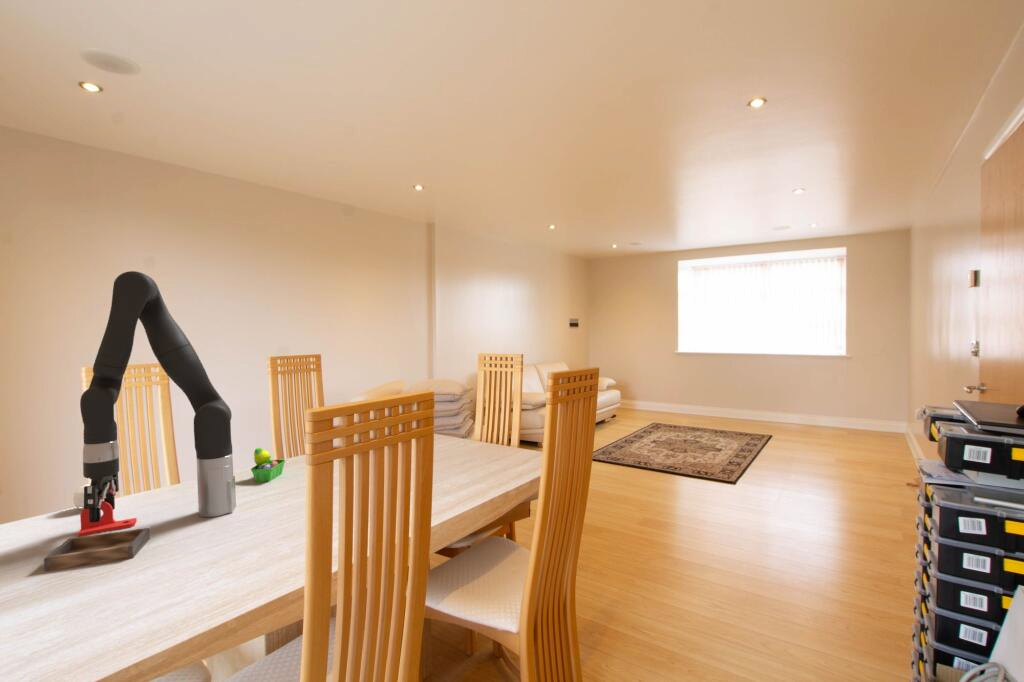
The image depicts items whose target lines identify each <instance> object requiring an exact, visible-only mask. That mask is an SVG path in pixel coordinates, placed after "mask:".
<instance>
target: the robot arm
mask: <svg viewBox="0 0 1024 682" xmlns="http://www.w3.org/2000/svg"><path fill="white" fill-rule="evenodd" d="M107 320H108V321H107V324H106V328H105V331H104V333H103V336H102V339H101V342H100V344H99V348H98V351H97V354H96V357H95V360H94V363H93V366H92V373H93V375H92V378H91V380H90V384H89V387H88V389H86V390H85V391H84V392H82V395H81V397H80V403H79V404H80V405H79V406H80V407H79V408H80V414H81V419H82V420H81V421H82V424H83V448H82V449H83V450H82V472H83V473H82V475H83V477H84V478H85V479H89V480H91V481H90V483H89V484H90V486H85V487H84V509H89V521H90V523H94V522H99V521H100V520H101V516H102V512H101V511H102V510H101V507H100V506H101V502H102V500H104V501H106V502H108V503H110V504H111V506H112V507H113V511H114V510H115V509H116V504H115V503H116V501H115V498H116V497H117V493H118V492H119V491H120V488H119V487H120V486H119V472H120V447H119V441H118V425H117V421H116V420H115V404H116V403H117V401H118V399H119V396H120V393H121V389H122V384H123V378H124V376H125V373H126V370H127V367H128V365H129V361H130V359H131V355H132V352H133V347H134V339H135V334H136V333H135V332H136V328H137V324H138V320H139V321H140V323H141V324H142V327H143V329H144V332H145V334H146V337H147V340H148V343H149V345H150V348H151V350H152V352H153V353H152V354H154V356H155V358H156V360H157V361H158V363H159V365H160V366H161V369H163V371H164V373H165V374H166V375H167V376H168V377H169V379H171V381H172V382H174V384H176V386H177V387H178V388H179V389H180V390H181V392H183V394H185V396H186V398H187V399H188V402H189V403H190V405H191V407H192V410H193V412H194V417H193V436H194V449H195V455H196V479H197V480H196V481H197V500H198V501H197V503H198V516H199V517H202V518H213V517H214V518H215V517H220V516H223V515H227V514H231V513H233V512H234V510H235V508H236V506H237V497H236V476H235V475H234V464H233V463H234V461H233V459H234V458H233V443H232V430H231V427H232V424H231V420H232V411H231V408H230V406H229V405H228V404H227V403H226V402H225V400H224V399H223V398H222V396H221V395H220V393H219V392H218V391H217V390H216V389H215V387H214V385H213V383H212V382H211V380H210V378H209V375H208V374H207V371H206V368H205V367H204V365H203V363H202V361H201V359H200V357H199V355H198V353H197V352H196V350H195V348H194V346H193V345H192V343H191V342H190V340H189V339H188V337H187V335H186V334H185V333H184V331H183V330H182V328H181V327H180V325H179V324H178V323H177V321H176V320H175V318H174V317H173V316H172V315H171V313H170V311H169V309H168V307H167V306H166V303H165V301H164V299H163V297H162V294H161V291H160V289H159V286H158V285H157V283H156V281H155V280H154V279H153V278H152V277H151V276H149V275H147V274H146V273H143V272H139V271H135V270H134V271H133V270H131V271H125V272H122V273H121V274H119V275H118V276H117V277H116V278H115V279H114V281H113V287H112V297H111V306H110V311H109V316H108V319H107ZM105 497H106V498H105ZM88 500H89V503H88ZM97 500H98V502H97ZM92 503H93V504H92Z"/></svg>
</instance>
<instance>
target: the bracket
mask: <svg viewBox="0 0 1024 682" xmlns="http://www.w3.org/2000/svg"><path fill="white" fill-rule="evenodd" d="M97 502H98V501H97ZM92 504H93V503H92ZM100 507H101V511H102V514H101V520H100V521H99V522H94V523H90V521H89V509H83V510H82V509H81V512H80V529H79V531H78V532H77V537H84V536H91V535H99V534H103V533H108V532H107V531H109V532H112V531H113V530H114V531H119V530H124V529H129V528H133V527H135V526H136V524H137V522H138V521H137V520H138V517H134V518H126V519H121V520H116V519H114V510H113V507H112V506H111V504H110V503H108V502H106V501H102V502H101V506H100ZM114 531H113V532H114ZM102 532H103V533H102Z"/></svg>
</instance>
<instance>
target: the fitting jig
mask: <svg viewBox="0 0 1024 682" xmlns="http://www.w3.org/2000/svg"><path fill="white" fill-rule="evenodd" d="M150 539H151V534H150V527H145V528H138V529H137V528H136V529H130V530H129V529H128V530H124V531H123V530H122V531H116V532H115V531H113V532H105V533H98V534H92V535H87V536H81V537H78V536H77V537H69V538H68V539H66V540H65V541H64V542H63V543H62V544H60V545H59V546H58V547H56V548H55V549H54V550H53V551H51V552H50V553H49V554H47V555H46V556H44V557H43V565H44V568H43V569H44V572H49V571H54V570H55V571H56V570H62V569H67V568H68V569H69V568H74V567H81V566H87V565H93V564H101V563H107V562H114V561H120V560H121V561H122V560H129V559H134V557H136V555H137V554H139V552H140V551H141V550H142V548H143V547H144V546H145V545H146V544H147V543H148V542H149V540H150Z"/></svg>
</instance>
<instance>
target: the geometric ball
mask: <svg viewBox="0 0 1024 682" xmlns="http://www.w3.org/2000/svg"><path fill="white" fill-rule="evenodd" d="M90 484H91V483H87V484H85V485H82V486H80V487H78V489H77V490H76V491H75V492H74V493H73V498H72V501H73V504H74V506H75V507H76V508H77V509H79V510H81V511H82V510H83V509H84V487H85V486H90ZM105 498H106V497H105ZM97 501H98V500H97ZM102 501H104V500H102ZM88 503H89V500H88ZM79 507H82V508H79Z"/></svg>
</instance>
